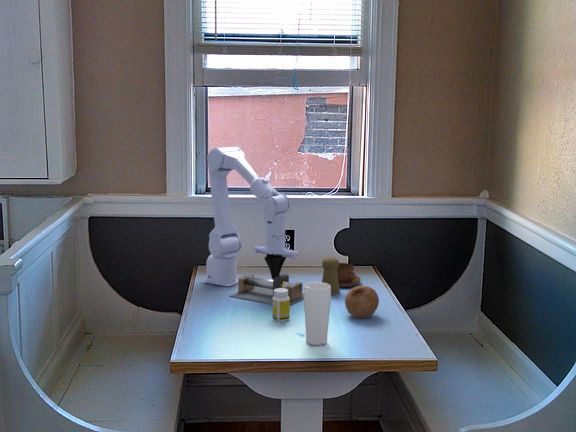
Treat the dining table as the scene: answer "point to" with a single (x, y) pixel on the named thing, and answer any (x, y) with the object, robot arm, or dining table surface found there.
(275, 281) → the dark grey upright slab
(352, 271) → the cup and saucer
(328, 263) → the cork
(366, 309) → the onion
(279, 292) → the supplement bottle
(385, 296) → the dining table surface
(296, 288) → the rod holder
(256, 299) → the mat
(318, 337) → the drinking glass
